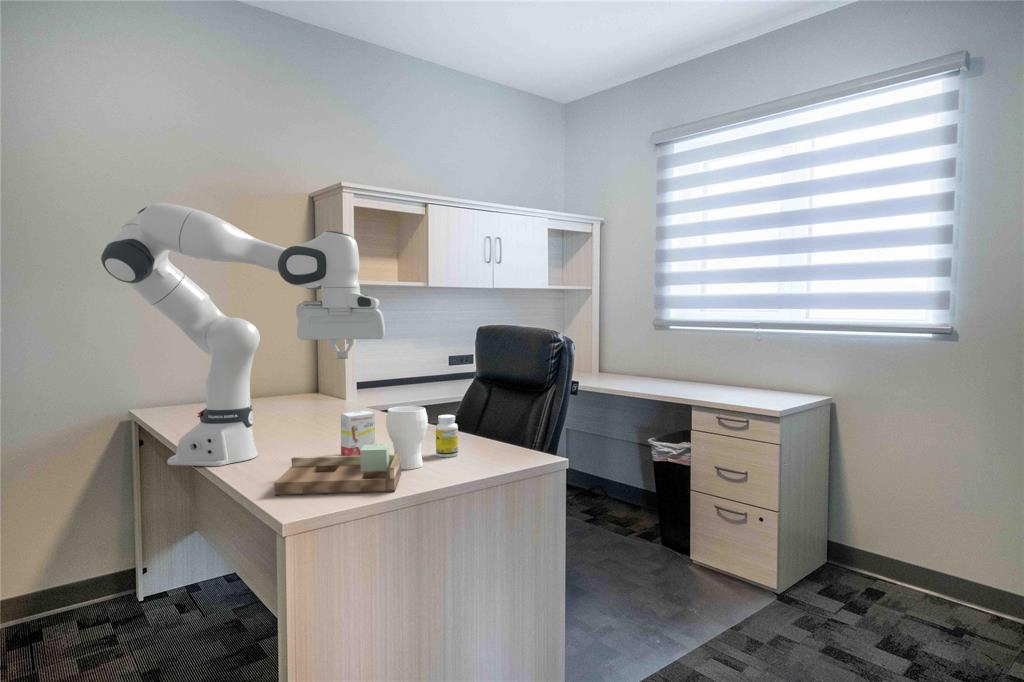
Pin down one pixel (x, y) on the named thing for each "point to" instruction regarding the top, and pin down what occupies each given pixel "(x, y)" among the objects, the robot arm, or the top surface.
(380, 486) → the wooden tray
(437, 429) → the pill bottle
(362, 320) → the robot arm
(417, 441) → the cup
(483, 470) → the top surface
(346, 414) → the ink box
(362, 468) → the block
